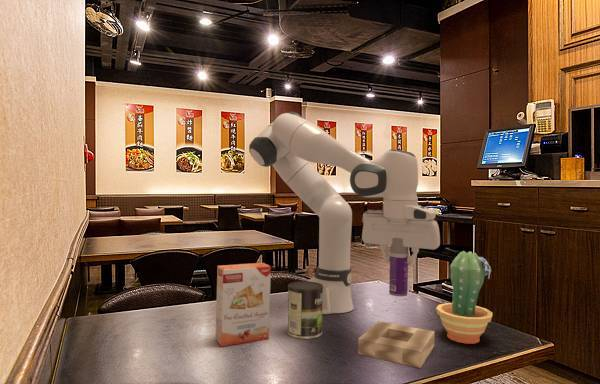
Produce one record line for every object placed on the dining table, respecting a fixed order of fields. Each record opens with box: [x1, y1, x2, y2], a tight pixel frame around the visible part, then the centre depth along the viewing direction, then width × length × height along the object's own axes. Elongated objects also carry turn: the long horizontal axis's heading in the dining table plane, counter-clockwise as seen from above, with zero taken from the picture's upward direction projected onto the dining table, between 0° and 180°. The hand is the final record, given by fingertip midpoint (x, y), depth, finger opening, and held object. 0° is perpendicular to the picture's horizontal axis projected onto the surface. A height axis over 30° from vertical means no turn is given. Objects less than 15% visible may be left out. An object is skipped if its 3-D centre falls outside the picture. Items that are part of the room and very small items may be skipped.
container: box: [388, 238, 409, 297], centre depth 110 cm, size 5×5×15 cm
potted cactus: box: [435, 250, 494, 344], centre depth 120 cm, size 15×15×25 cm
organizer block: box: [357, 320, 436, 369], centre depth 110 cm, size 16×16×4 cm
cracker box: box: [215, 262, 272, 347], centre depth 115 cm, size 14×6×21 cm, turn 117°
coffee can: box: [287, 280, 323, 340], centre depth 122 cm, size 10×10×14 cm
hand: (399, 263), depth 110 cm, fingers closed on container, 5 cm apart
